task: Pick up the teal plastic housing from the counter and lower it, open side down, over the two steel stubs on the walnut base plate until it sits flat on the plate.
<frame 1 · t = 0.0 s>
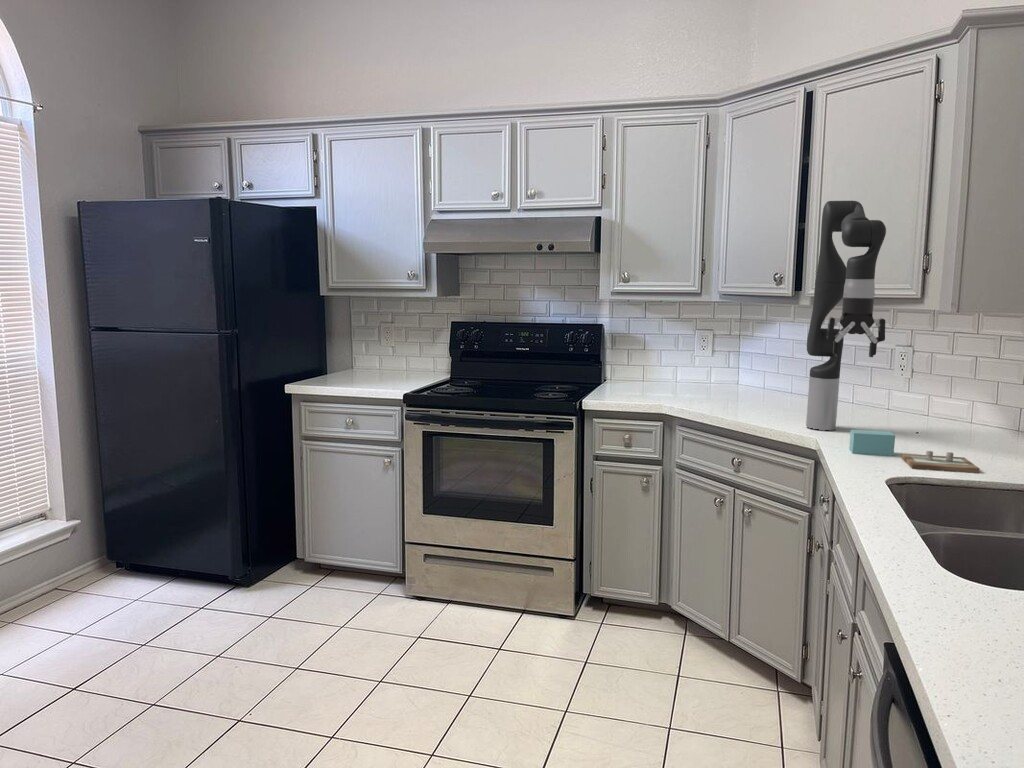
hand: (853, 356, 205), 29 cm above the worktop, tool pointing down, fingers open, 8 cm apart
stub base: (938, 465, 206), on the worktop
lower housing: (871, 452, 219), on the worktop
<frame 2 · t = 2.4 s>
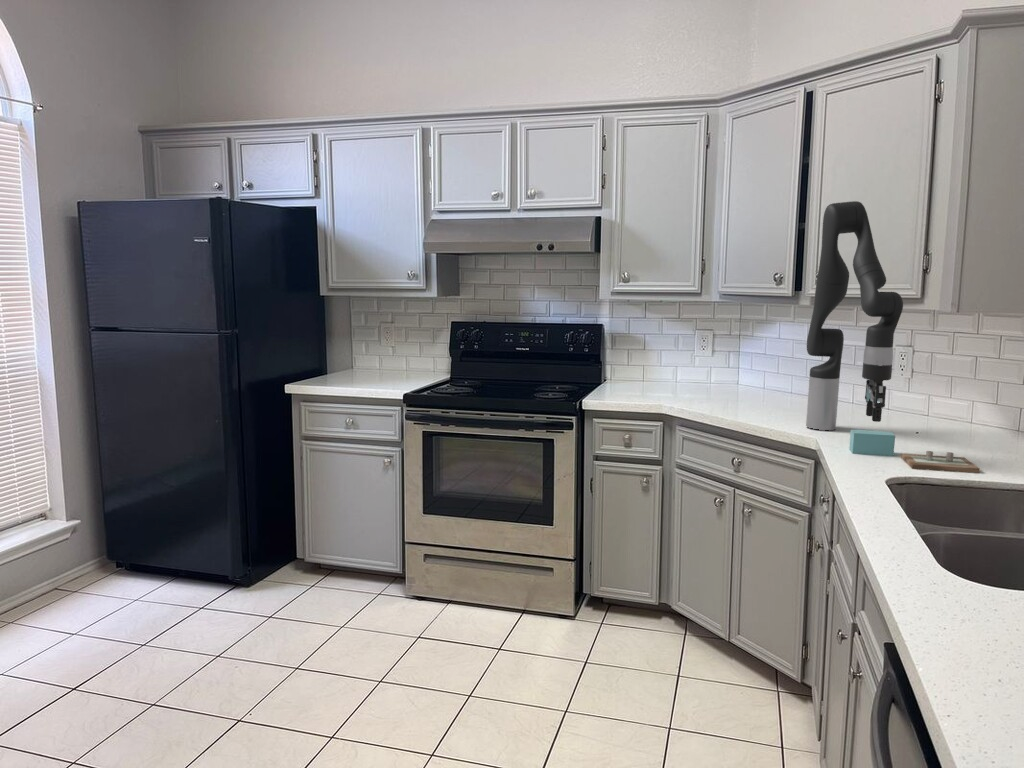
hand: (873, 418, 217), 10 cm above the worktop, tool pointing down, fingers open, 8 cm apart
nothing on the worktop moved.
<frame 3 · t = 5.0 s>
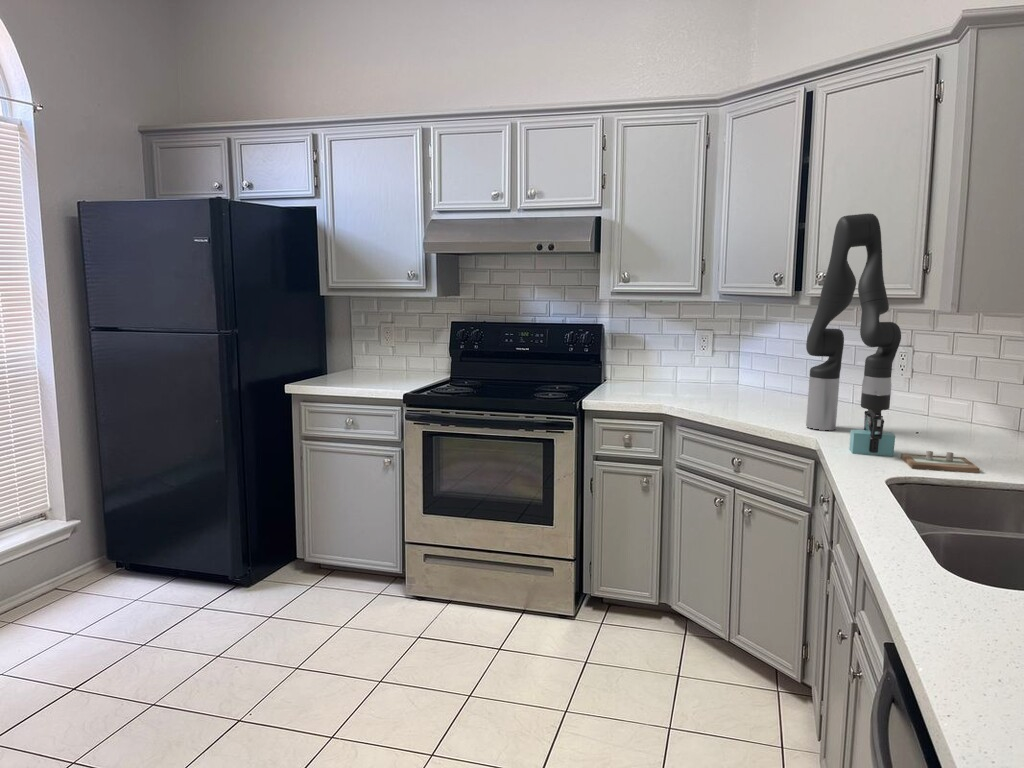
hand: (871, 449, 219), 1 cm above the worktop, tool pointing down, fingers closed on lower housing, 5 cm apart
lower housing: (871, 452, 219), on the worktop, touching gripper
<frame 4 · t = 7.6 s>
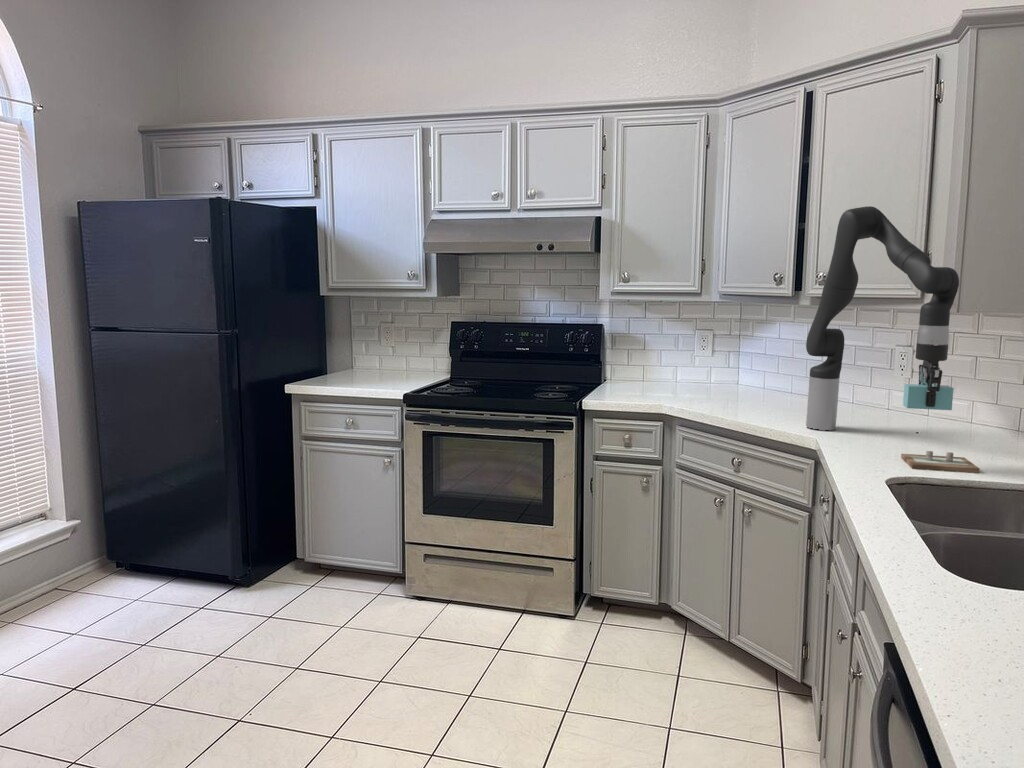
hand: (927, 404, 206), 16 cm above the worktop, tool pointing down, fingers closed on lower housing, 5 cm apart
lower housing: (926, 407, 206), point 15 cm above the worktop, touching gripper
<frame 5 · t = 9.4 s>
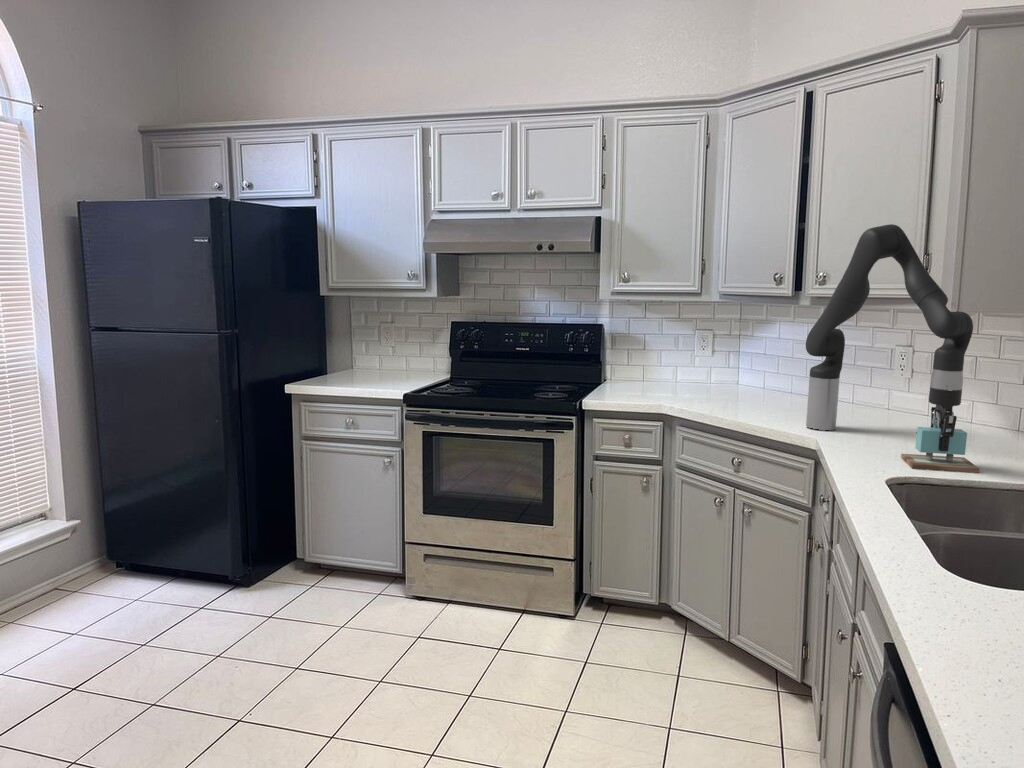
hand: (940, 448, 205), 5 cm above the worktop, tool pointing down, fingers closed on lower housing, 5 cm apart
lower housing: (939, 451, 205), point 4 cm above the worktop, touching gripper
when the fingers open (3 cm above the worktop, at t = 10.5 s): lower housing drops 1 cm, resting on stub base.
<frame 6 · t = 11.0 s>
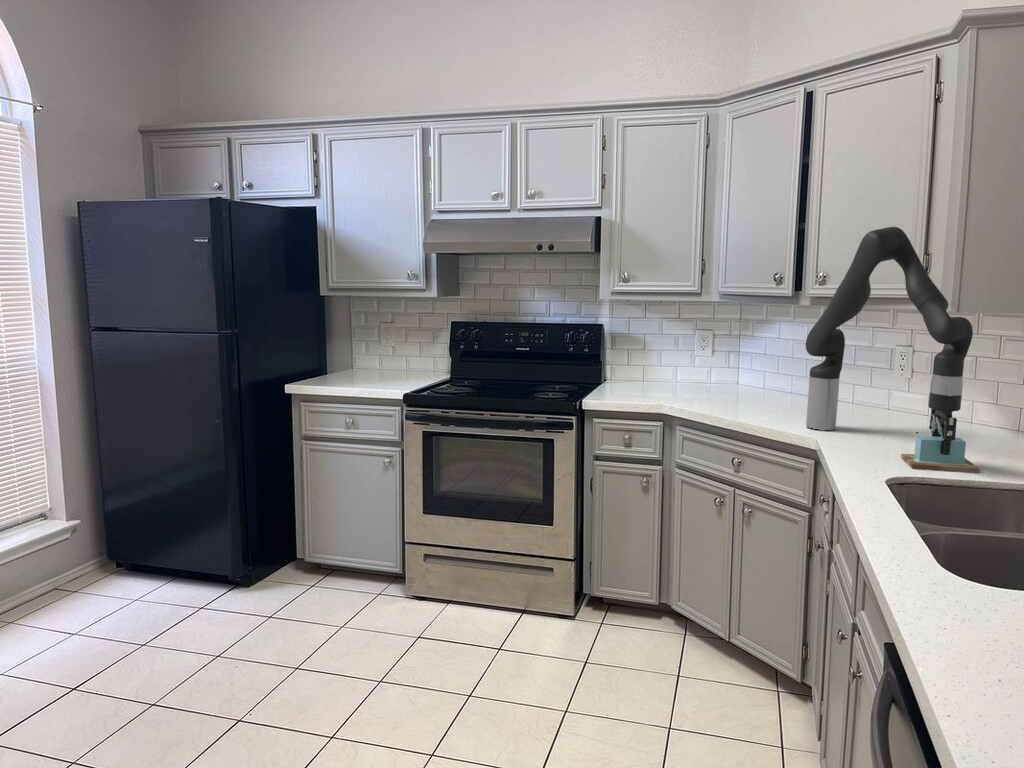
hand: (940, 450, 205), 4 cm above the worktop, tool pointing down, fingers open, 8 cm apart
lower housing: (938, 460, 206), point 1 cm above the worktop, touching stub base
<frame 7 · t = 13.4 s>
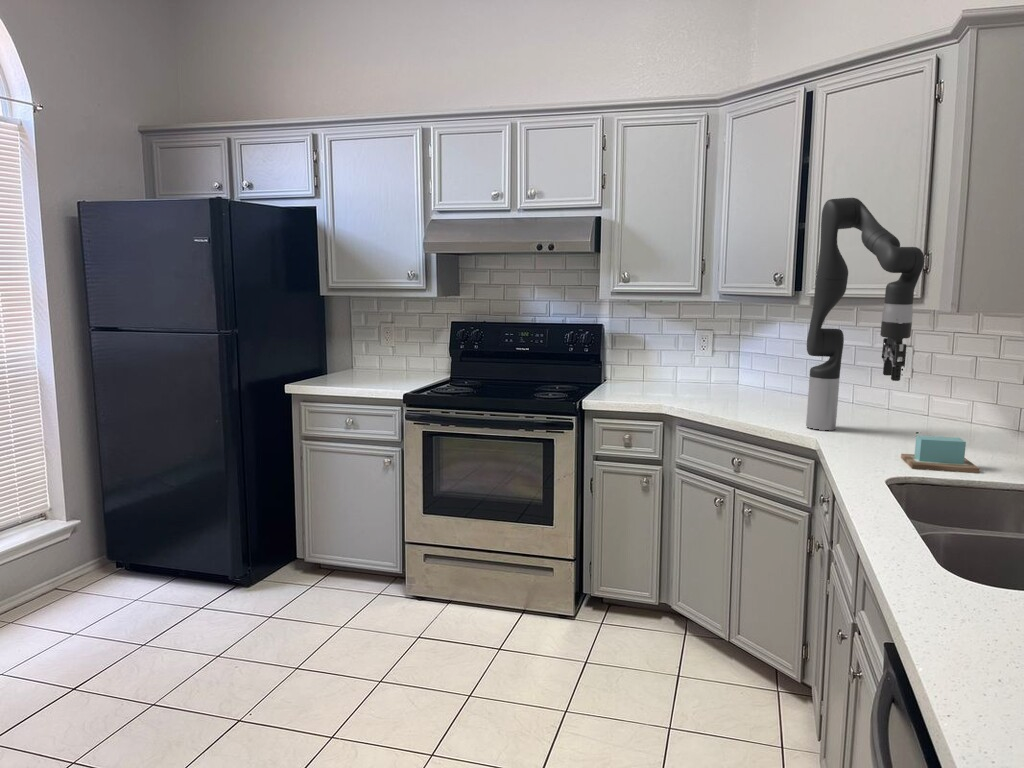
hand: (891, 377, 213), 22 cm above the worktop, tool pointing down, fingers open, 8 cm apart
nothing on the worktop moved.
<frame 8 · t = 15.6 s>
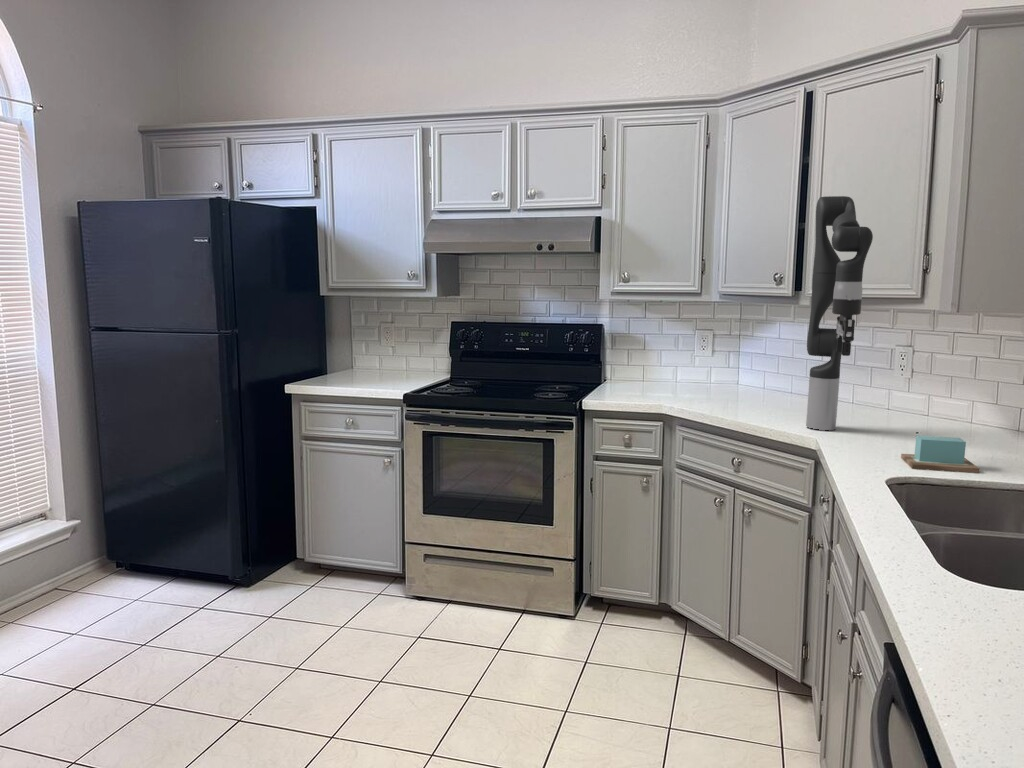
hand: (843, 353, 220), 28 cm above the worktop, tool pointing down, fingers open, 8 cm apart
nothing on the worktop moved.
at the end: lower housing 0.2 cm off-centre on the stub base, point 1.3 cm above the stub base's base; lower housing tilted 0°; the gripper is holding nothing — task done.
